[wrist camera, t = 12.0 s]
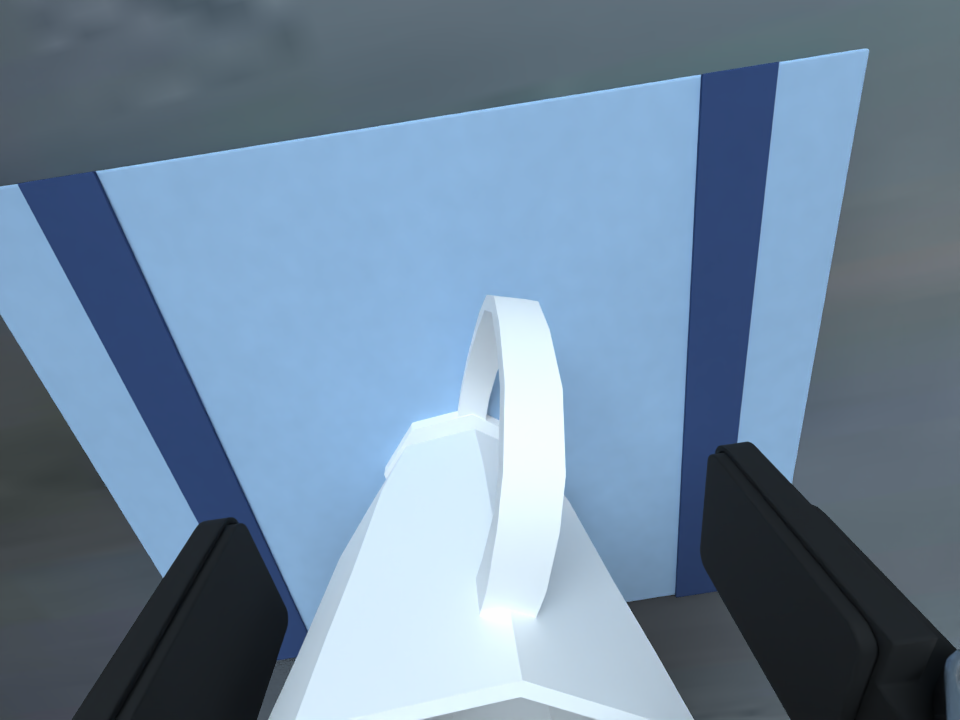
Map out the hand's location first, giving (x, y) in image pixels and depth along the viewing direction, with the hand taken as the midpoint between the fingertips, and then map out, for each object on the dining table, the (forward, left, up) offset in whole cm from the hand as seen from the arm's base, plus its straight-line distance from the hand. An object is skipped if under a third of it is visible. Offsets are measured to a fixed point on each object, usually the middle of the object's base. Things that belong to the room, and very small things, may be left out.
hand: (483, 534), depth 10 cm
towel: (0, 0, -5) cm, 5 cm away
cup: (0, 0, -4) cm, 4 cm away
